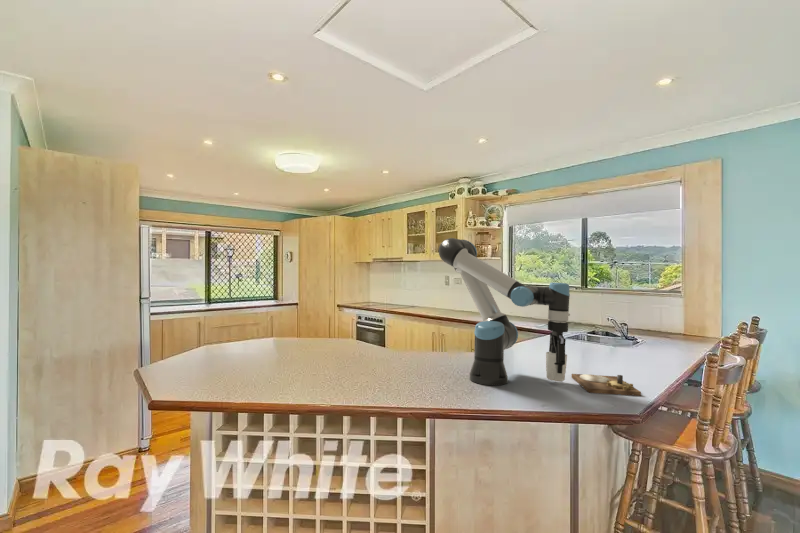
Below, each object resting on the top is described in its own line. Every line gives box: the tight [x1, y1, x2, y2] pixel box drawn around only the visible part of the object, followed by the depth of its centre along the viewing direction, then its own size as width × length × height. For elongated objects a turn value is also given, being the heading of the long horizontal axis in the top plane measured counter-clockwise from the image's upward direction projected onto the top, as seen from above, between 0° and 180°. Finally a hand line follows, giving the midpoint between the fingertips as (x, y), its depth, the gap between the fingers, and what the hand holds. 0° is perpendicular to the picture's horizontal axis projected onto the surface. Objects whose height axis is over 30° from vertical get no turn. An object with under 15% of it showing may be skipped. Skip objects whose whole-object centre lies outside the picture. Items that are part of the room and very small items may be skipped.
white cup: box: [545, 351, 568, 382], centre depth 151 cm, size 8×8×10 cm
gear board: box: [571, 373, 642, 397], centre depth 150 cm, size 18×21×6 cm
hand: (555, 378), depth 151 cm, fingers closed on white cup, 7 cm apart
